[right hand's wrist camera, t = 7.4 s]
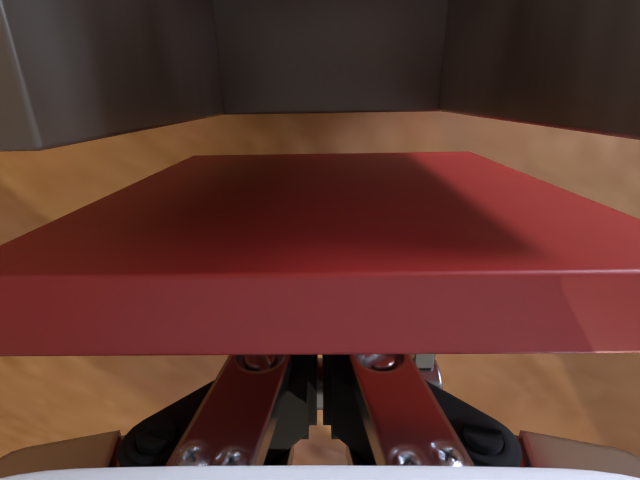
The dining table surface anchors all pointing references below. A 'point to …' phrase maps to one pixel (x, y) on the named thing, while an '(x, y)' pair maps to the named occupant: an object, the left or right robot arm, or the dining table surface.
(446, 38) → the drawer
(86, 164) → the dining table surface
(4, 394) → the dining table surface
